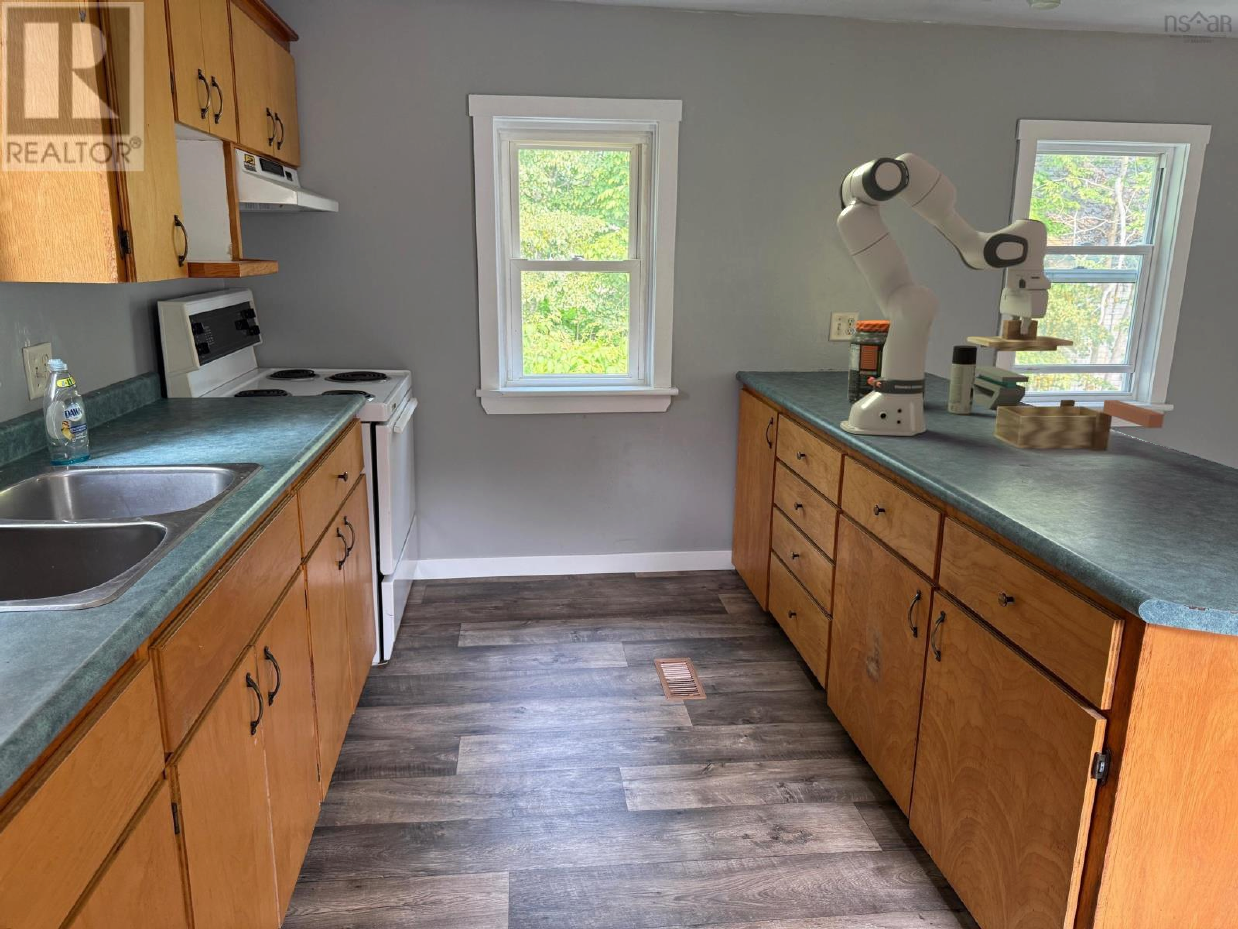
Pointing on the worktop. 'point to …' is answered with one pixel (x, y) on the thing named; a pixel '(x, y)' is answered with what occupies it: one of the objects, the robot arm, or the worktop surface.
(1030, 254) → the robot arm
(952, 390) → the spray can
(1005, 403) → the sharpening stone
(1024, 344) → the toolbox lid
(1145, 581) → the worktop surface
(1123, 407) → the bar
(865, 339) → the supplement tub
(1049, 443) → the toolbox
